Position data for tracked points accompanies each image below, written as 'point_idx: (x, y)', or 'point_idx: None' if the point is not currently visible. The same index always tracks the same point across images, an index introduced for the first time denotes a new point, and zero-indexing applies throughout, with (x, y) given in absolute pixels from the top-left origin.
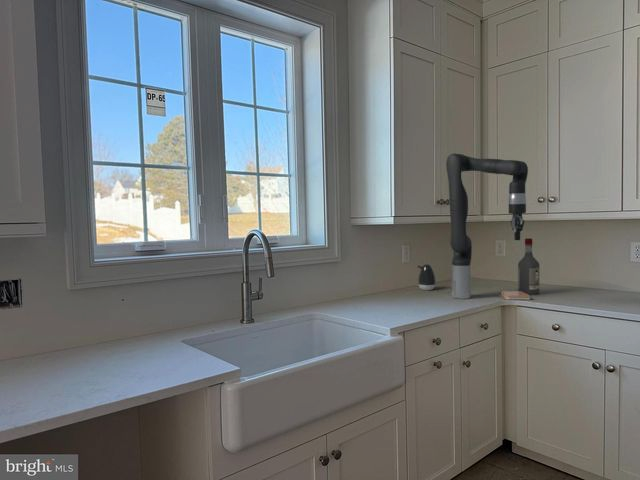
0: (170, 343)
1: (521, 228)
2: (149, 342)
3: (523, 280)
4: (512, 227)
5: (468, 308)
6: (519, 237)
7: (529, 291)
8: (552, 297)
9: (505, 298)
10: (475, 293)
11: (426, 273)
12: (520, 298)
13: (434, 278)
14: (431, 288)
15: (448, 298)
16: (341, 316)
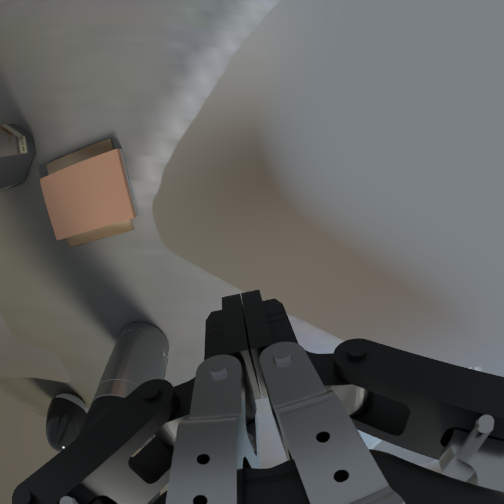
0: (436, 460)
1: (398, 366)
2: (430, 467)
3: (3, 175)
4: (163, 467)
5: (303, 321)
6: (283, 310)
7: (31, 151)
8: (65, 83)
9: (124, 225)
10: (64, 306)
11: (76, 435)
12: (127, 178)
13: (64, 411)
14: (78, 399)
15: (170, 369)
16: (371, 445)
